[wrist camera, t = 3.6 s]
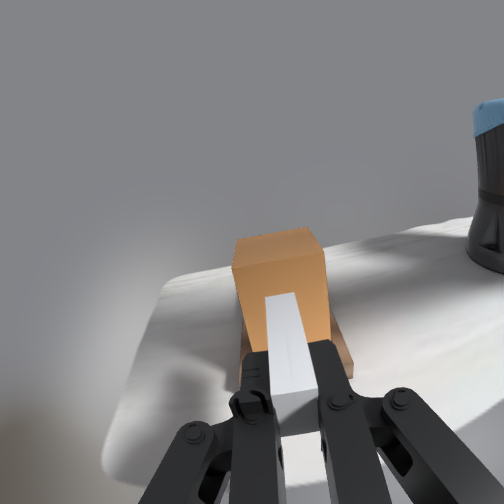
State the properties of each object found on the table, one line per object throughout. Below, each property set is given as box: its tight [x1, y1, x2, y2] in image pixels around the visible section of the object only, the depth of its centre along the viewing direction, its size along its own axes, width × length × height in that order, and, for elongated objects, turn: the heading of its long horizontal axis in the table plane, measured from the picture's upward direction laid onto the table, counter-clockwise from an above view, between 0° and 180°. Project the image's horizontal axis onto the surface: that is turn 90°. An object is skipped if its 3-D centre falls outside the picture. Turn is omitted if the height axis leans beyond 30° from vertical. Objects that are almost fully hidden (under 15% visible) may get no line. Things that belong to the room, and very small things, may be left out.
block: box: [231, 227, 331, 352], centre depth 22 cm, size 6×6×10 cm
